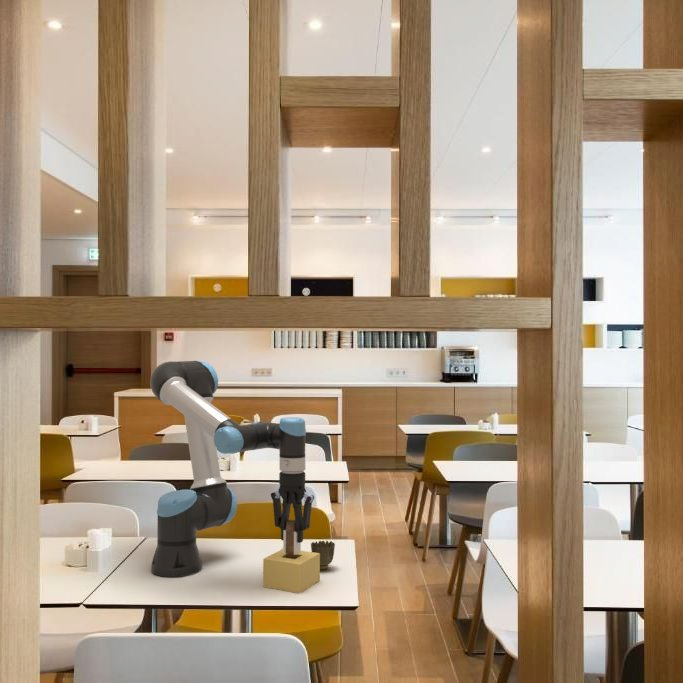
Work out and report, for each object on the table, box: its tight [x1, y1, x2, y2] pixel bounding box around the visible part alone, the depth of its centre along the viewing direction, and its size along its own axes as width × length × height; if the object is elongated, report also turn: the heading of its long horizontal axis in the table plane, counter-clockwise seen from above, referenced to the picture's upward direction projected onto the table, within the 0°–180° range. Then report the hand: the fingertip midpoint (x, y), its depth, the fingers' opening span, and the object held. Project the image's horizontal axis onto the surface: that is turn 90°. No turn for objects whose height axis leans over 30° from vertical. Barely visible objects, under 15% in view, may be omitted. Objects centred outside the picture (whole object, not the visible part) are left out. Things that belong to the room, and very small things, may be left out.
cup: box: [310, 540, 336, 571], centre depth 223 cm, size 8×7×8 cm
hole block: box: [262, 549, 321, 594], centre depth 210 cm, size 12×12×8 cm
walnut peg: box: [286, 519, 297, 559], centre depth 210 cm, size 3×3×14 cm
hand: (291, 552), depth 210 cm, fingers closed on walnut peg, 3 cm apart
